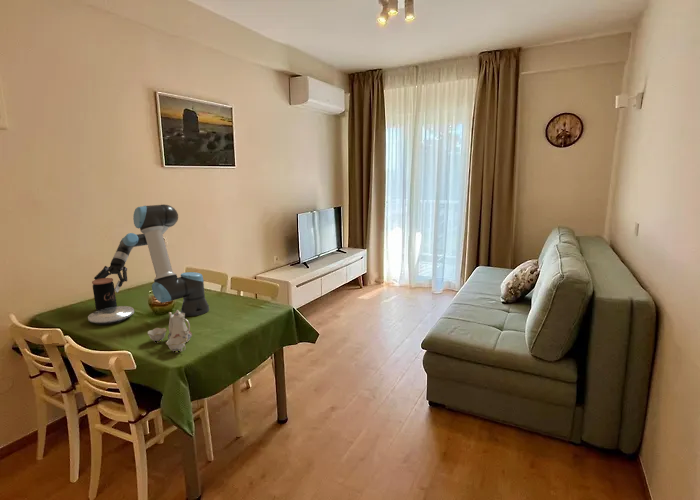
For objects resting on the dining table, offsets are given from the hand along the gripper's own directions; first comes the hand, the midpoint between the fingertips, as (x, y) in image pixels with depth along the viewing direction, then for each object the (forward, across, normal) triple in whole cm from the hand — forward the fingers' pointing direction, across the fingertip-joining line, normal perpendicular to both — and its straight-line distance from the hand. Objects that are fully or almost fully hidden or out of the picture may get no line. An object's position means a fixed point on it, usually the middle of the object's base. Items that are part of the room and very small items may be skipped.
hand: (105, 291), depth 232 cm
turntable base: (+19, -15, +4) cm, 24 cm away
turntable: (+17, -15, +5) cm, 23 cm away
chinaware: (+37, -66, +22) cm, 79 cm away
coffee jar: (+9, -1, -6) cm, 11 cm away
